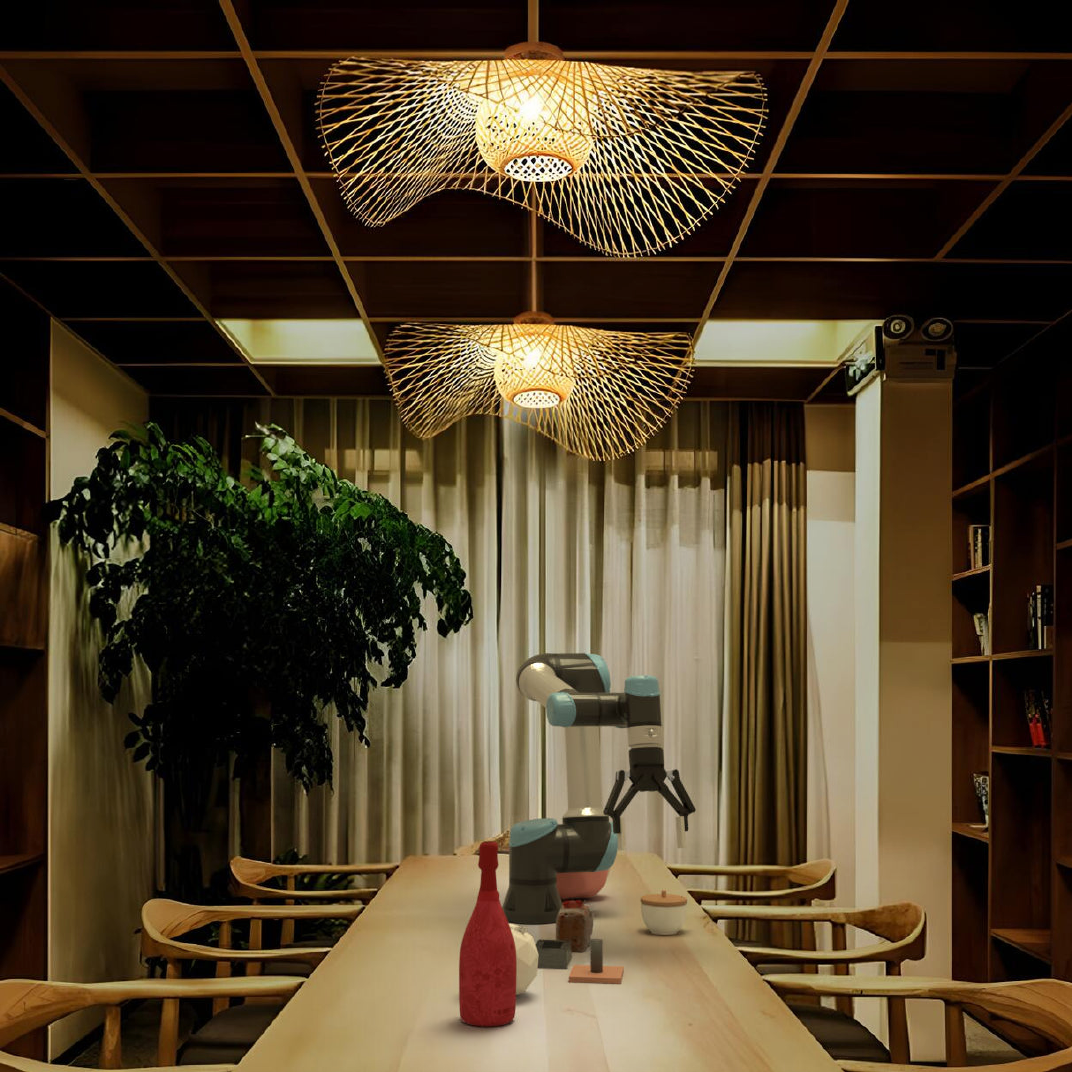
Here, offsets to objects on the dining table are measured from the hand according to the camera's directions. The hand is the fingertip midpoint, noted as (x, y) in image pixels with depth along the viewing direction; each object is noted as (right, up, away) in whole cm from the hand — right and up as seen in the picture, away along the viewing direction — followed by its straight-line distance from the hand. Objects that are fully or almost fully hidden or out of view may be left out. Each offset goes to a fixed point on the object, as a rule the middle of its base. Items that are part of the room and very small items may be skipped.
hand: (652, 849), depth 264 cm
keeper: (-13, -20, -19) cm, 31 cm away
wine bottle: (-33, -17, -51) cm, 63 cm away
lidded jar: (+5, -25, +23) cm, 35 cm away
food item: (-16, -24, +9) cm, 30 cm away
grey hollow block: (-21, -22, -7) cm, 31 cm away
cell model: (-15, -30, +66) cm, 74 cm away
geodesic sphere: (-31, -19, -34) cm, 49 cm away
